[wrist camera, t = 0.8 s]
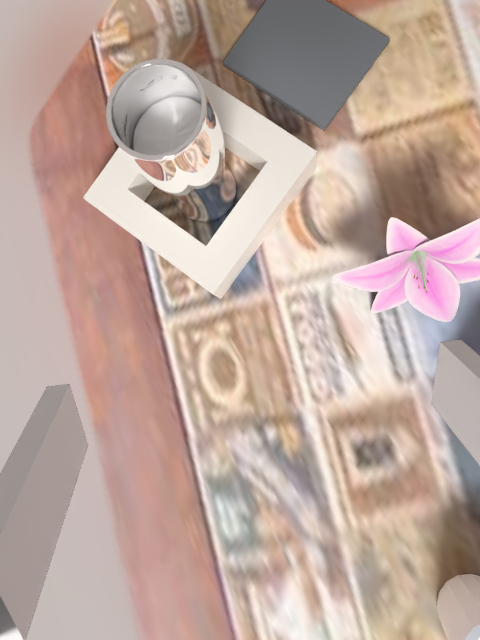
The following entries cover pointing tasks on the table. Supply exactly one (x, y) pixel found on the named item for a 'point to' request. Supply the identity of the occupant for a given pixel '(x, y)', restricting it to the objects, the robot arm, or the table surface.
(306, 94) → the slate coaster
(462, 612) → the white short tapered cylinder
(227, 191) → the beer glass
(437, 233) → the table surface
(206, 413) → the table surface
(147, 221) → the board
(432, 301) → the lily
